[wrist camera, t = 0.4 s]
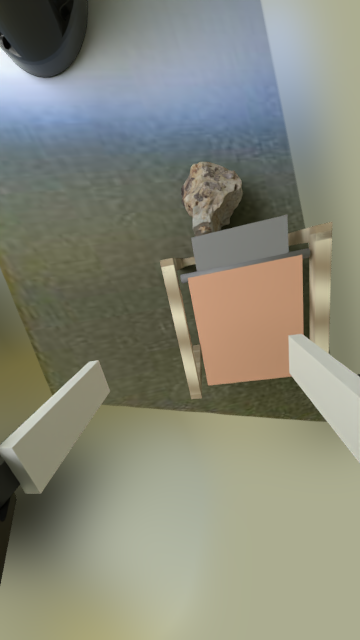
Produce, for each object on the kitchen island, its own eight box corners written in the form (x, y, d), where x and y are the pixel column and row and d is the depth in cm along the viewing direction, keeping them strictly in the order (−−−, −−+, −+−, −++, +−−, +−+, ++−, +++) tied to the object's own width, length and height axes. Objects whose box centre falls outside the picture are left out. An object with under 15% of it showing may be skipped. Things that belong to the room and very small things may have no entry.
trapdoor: (176, 243, 23) (173, 241, 20) (296, 215, 21) (310, 208, 18) (202, 374, 28) (202, 385, 26) (300, 363, 26) (310, 374, 24)
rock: (236, 193, 33) (221, 129, 25) (262, 239, 28) (254, 179, 20) (191, 221, 36) (164, 173, 28) (208, 267, 31) (181, 225, 23)
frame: (175, 260, 35) (159, 260, 21) (275, 238, 32) (332, 221, 18) (194, 351, 40) (191, 399, 27) (280, 339, 38) (327, 386, 24)
